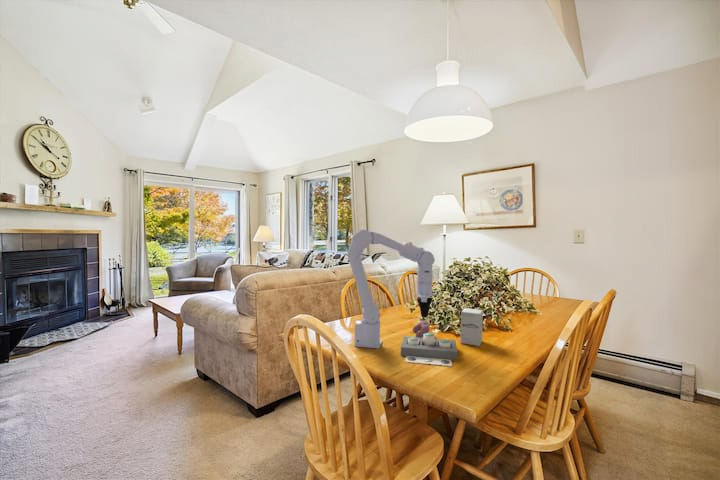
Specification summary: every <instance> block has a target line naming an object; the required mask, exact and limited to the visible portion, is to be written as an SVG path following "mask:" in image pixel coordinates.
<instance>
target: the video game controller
mask: <svg viewBox="0 0 720 480" xmlns="http://www.w3.org/2000/svg"><path fill="white" fill-rule="evenodd" d="M430 330H431V329H430V325H429V322H428V321H426V320H421V321H419V322H418V324H416V325H414V327H412V332H413V333H416V334H415V337H418V338H423V334H425V333H431V332H430Z"/></svg>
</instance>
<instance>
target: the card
mask: <svg viewBox="0 0 720 480" xmlns="http://www.w3.org/2000/svg"><path fill="white" fill-rule="evenodd" d="M407 362H410V363H409V364H418V363H420V365H428V364H431V366H439V365H442V366H443V367H450V368H452V367H453V365H452V364H453V363H452V360H447V359H436V358H425V357H414V356H405V361H404V363H407ZM442 366H441V367H442Z"/></svg>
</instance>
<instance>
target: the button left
mask: <svg viewBox="0 0 720 480" xmlns="http://www.w3.org/2000/svg"><path fill="white" fill-rule="evenodd" d="M409 337H410V338H408V344H412V345H419V339H418V338H416V336H409Z"/></svg>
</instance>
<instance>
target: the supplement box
mask: <svg viewBox="0 0 720 480" xmlns="http://www.w3.org/2000/svg"><path fill="white" fill-rule="evenodd" d="M483 315H484V310H483V309H476V308H467V307H464V308H463V309H462V310H461V312H460V342H459V343H460V344H463V345H464V344H465V345H471V346H477V347H480V346H481V344H482V342H483V341H482V340H483V325H484V324H483V321H484V320H483V318H484V317H483Z"/></svg>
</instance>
